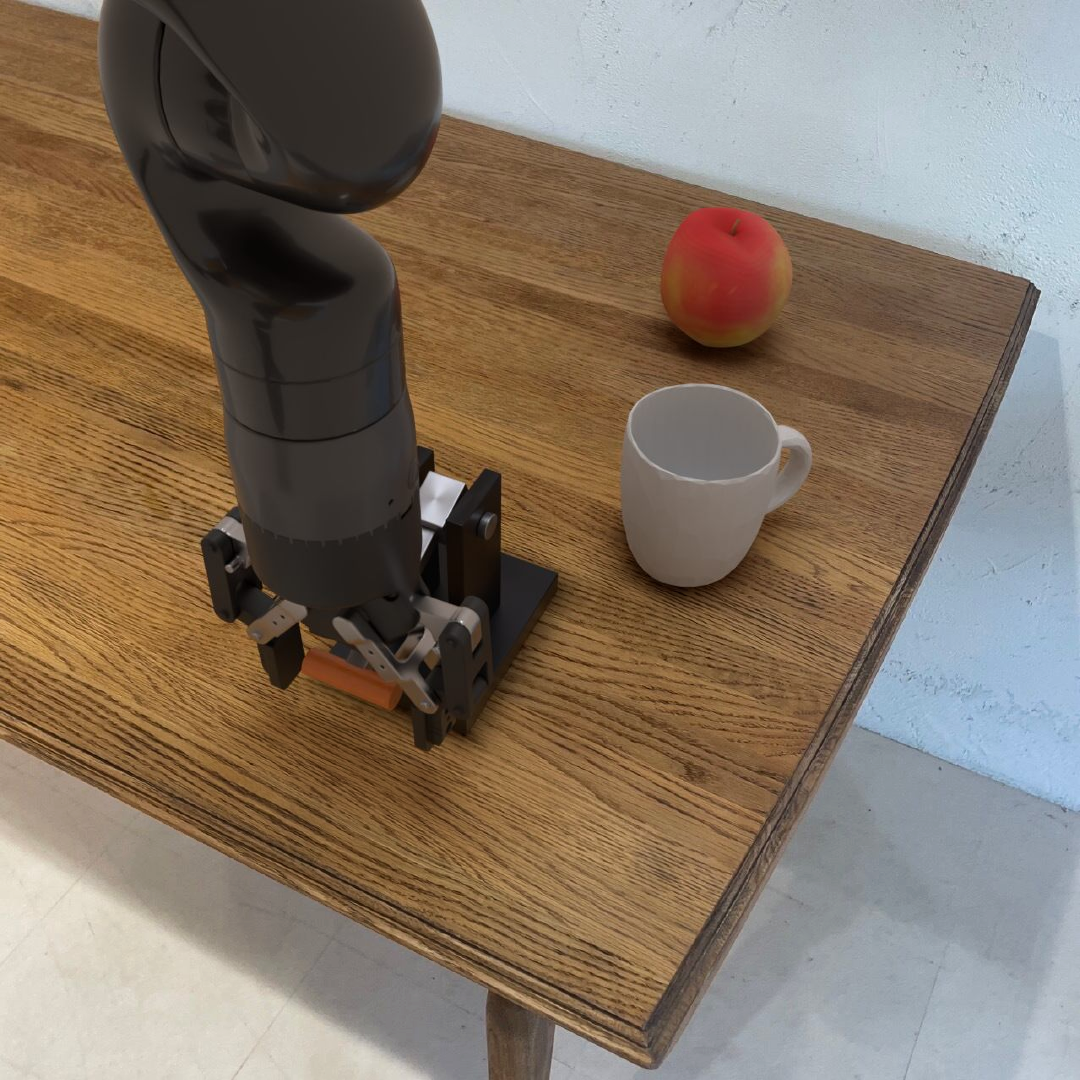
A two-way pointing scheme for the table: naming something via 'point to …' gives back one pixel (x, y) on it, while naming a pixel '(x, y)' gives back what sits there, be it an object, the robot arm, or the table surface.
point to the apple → (725, 276)
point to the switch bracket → (480, 578)
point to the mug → (703, 479)
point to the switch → (435, 508)
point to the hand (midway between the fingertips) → (359, 706)
